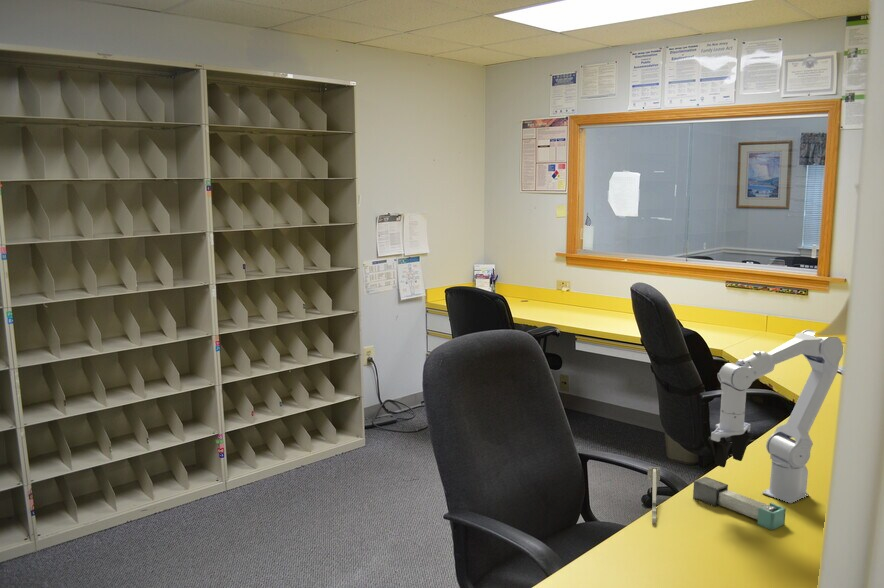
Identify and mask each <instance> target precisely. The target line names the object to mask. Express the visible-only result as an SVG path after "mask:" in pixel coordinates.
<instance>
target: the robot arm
mask: <svg viewBox="0 0 884 588" xmlns="http://www.w3.org/2000/svg"><path fill="white" fill-rule="evenodd" d="M816 332H817V331H815V330H813V329H805V330H802V331H801V332H797V333H796V334H795V335H794V338H792V339H791V338H790V340H788V341H785V342H784V343H783V344H781V345H779V346H777V347H775V348H773V349H772V350H770V351H768V352H766V351H763V350H761V351H760V350H755V351H753V352H752V354H751V355H750V356H749V355H748V356H746V357H745V358H743V359H741V358H740V359H737V361H736V362H735V363H734V362H727V363H724V365H722V366H721V368H720V370H719V372H717V379H718V381H719V383H720V389H721V396H720V398H721V399H720V414H719V423H717V424H715V428H716V429H715V430H714V431H711V434H710V436H709V437H708V440H707V441H708V443H709V445H710V446H711V449H712V452H713V456H714V460H715V465H716V466H717V467H721V468H726V465H727V460H728V454H729V451H730V449H732V450H731V451H732V459H733V460H736V461H739V462H741V461H743V458H744V456H745V453H746V450H747V448H748V445H749V444H750V442H751V441H752V439H753V437H754V434H753V433H751V432H750V431H751V427H752V426H751V423H748V422H745V414H746V404H747V403H746V400H747V389H749V388H750V387H751V385H752V384H753V382H755V381H756V380H757V379H759V378H762V377H763V376H765V375H768V374H770V373H771V372H773V371H774V369H775V367H776V365H778V364H780V363H782V362H785V361H787V360H790V359H793V358H795V357H798V356H800V355H802V356H803V357H804V358H805V359H806V361H808V363H809V365H810V367H811V371H810V373H809V376H808V378H807V379H806V381H805V384H804V386H803V388H802V389H801V392H800V395H799V396H798V399H797V401H796V403H795V404H794V407H793V410H792V411H791V413H790V415H789V417H788V420H787V422H786V423H784V424H782V425H779V426H777V427H776V428H775V431H774V432H773V433H772V434H771V435H770V436H769V437H768V439H767V440H766V444H765V447H766V451H767V453H768V454H769V455H770V458H769V459H770V460H771V464H770V465H771V466H770V477H769V488H767V489H765V490H763V491H762V493H761V494H763V495H766V496H768V497H770V498H773V497H774V499H776V498H777V499H776V500H779V499H780V500H779V501H782V500H783V501H782V502H784V501H785V503H787V502H788V504H793V502H794V503H796V502H798V501H800V500H799V499H801V498H803V499H805V498H806V497H805V496H807V495H809V494H810V493H809V492H807V489H808V476H809V470H808V468H807V466H806V465H807V464H808V462H809V460H810V459H811V451H812V447H813V445H814V443H813V441H812V439H811V437H810V434H809V433H810V430H811V429H812V426H813V424H814V422H815V420H816V418H817V415H818V414H819V411H820V410H821V407H822V405H823V403H824V401H825V399H826V397H827V395H828V393H829V391H830V389H831V387H832V385H833V382H834V380H835V378H836V376H837V374H838V372H839V371H838V370H839V366H840V361H841V359H842V358H843V355H844V353H843V347H844V344H843V342H842V340H841V338H840V337H839V336H837V337H815V336H814V335H815V333H816ZM729 437H730V440H731V442H730V441H728V440H727V439H726V438H729ZM805 494H806V495H805ZM804 497H805V498H804ZM797 500H798V501H797ZM801 500H802V499H801ZM795 501H796V502H795Z"/></svg>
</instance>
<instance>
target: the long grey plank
mask: <svg viewBox="0 0 884 588" xmlns="http://www.w3.org/2000/svg"><path fill="white" fill-rule="evenodd" d="M717 504H719V506H722V507H724V508H726V509H728V510H732V511H734V512H737V513H739V514H741V515H745V516H747V517H749V518H752V519H755V520H756V521H758V509H759V508H763V509H765V510H768V511H770V512H774V511H776V510H778V508H775V507H772V506H770V504H766V503H764V502H761V501H758V500H756V499H753V498H751V497H748V496H745V495H743V494H740V493H738V492H735V491H732V490H729V489H728V490H727V489H723V490H721V491H718V494H717Z"/></svg>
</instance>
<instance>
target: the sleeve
mask: <svg viewBox="0 0 884 588" xmlns="http://www.w3.org/2000/svg"><path fill="white" fill-rule="evenodd" d="M723 489H727V490H729V484H727V483H723V482H721V481H718V480H716V479H713V478H710V477H707V476H704V477H701V478H698V479H695V480H693V491H692V499H694V498H695V499H694V500H696V499H697V501H699V500H700V502H701V501H702V503H704V504H706V505H709V506H711V505H712V507H713V508H716V506H717V507H719V506H720V505H719V504H717V494H718V491H721V490H723ZM718 505H719V506H718Z"/></svg>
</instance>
